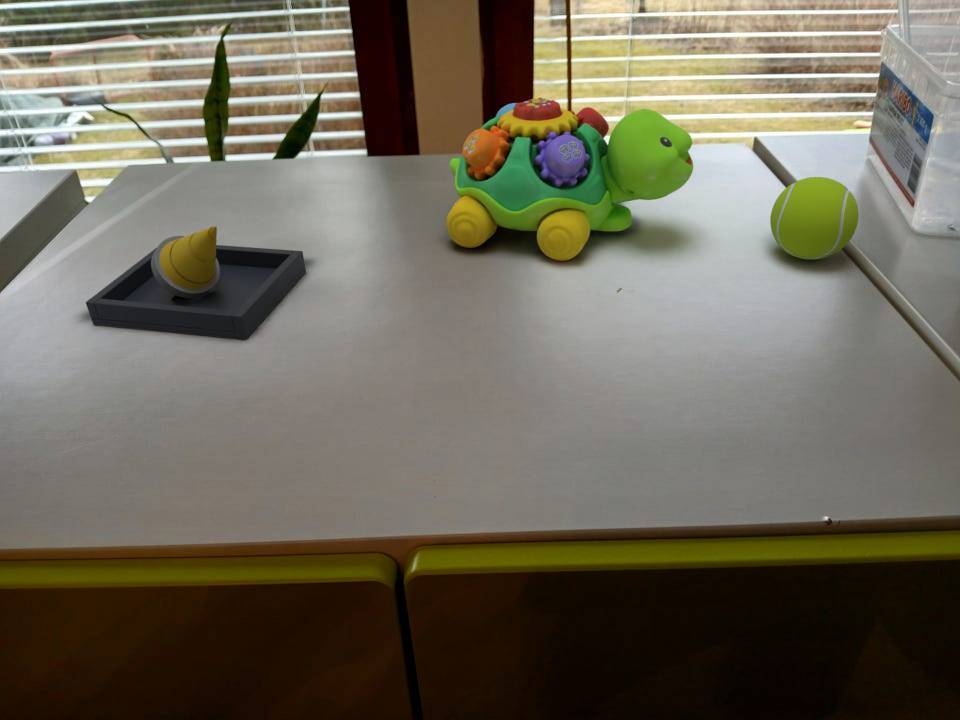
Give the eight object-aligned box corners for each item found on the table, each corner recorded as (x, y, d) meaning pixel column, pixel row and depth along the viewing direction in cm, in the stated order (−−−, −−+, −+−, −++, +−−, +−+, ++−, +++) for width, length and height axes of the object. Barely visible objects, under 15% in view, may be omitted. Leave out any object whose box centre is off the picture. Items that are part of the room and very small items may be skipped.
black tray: (92, 324, 64) (84, 302, 63) (170, 261, 73) (164, 240, 72) (246, 339, 61) (241, 316, 60) (306, 272, 71) (302, 250, 70)
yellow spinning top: (210, 273, 71) (255, 216, 64) (195, 322, 68) (240, 268, 61) (150, 247, 68) (190, 184, 61) (132, 297, 65) (172, 238, 58)
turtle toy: (670, 281, 67) (685, 144, 60) (418, 248, 74) (408, 122, 68) (696, 206, 80) (711, 87, 74) (480, 184, 87) (477, 74, 81)
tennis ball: (853, 247, 71) (871, 171, 67) (842, 279, 66) (861, 200, 62) (773, 233, 74) (786, 160, 70) (756, 264, 69) (769, 187, 65)
